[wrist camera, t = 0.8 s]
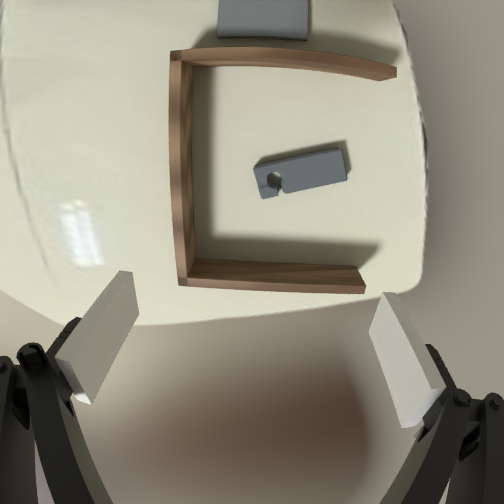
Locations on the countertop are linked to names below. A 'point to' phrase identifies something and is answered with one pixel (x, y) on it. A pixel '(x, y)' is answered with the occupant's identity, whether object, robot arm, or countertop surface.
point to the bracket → (302, 172)
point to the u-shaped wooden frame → (181, 186)
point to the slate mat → (263, 19)
